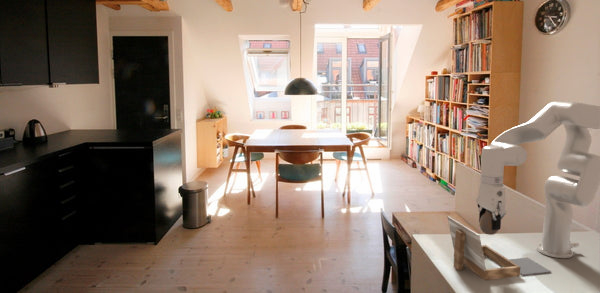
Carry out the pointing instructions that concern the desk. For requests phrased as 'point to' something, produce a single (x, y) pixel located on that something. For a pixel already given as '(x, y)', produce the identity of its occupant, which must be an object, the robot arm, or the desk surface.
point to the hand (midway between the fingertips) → (489, 225)
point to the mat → (529, 266)
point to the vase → (487, 223)
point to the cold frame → (478, 254)
